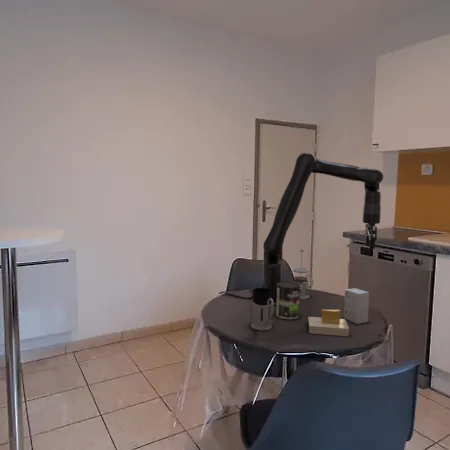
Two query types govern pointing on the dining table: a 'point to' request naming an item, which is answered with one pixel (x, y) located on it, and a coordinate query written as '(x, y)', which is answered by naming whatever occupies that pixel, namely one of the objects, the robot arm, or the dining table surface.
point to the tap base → (327, 327)
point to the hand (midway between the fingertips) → (369, 247)
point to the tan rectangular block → (330, 316)
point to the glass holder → (262, 309)
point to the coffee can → (288, 300)
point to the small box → (356, 305)
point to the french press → (302, 280)
